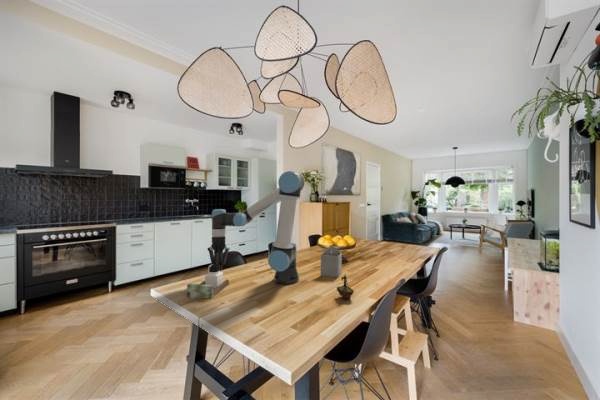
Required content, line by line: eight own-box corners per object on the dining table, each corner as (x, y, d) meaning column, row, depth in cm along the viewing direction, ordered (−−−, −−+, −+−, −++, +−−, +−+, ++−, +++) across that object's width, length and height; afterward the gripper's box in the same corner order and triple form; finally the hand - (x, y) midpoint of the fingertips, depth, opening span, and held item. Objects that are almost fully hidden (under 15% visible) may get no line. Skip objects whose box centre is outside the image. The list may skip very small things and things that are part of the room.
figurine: (357, 301, 116) (357, 276, 116) (342, 303, 114) (342, 278, 114) (347, 293, 126) (347, 270, 126) (333, 295, 123) (333, 271, 123)
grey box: (327, 279, 147) (327, 248, 147) (320, 275, 154) (320, 245, 154) (348, 276, 154) (348, 246, 154) (341, 272, 161) (341, 243, 161)
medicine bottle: (223, 284, 137) (223, 263, 137) (217, 289, 130) (217, 267, 130) (211, 283, 138) (211, 262, 138) (204, 288, 131) (204, 266, 131)
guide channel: (228, 284, 137) (228, 273, 137) (211, 298, 118) (211, 286, 118) (207, 282, 139) (207, 272, 139) (187, 296, 119) (187, 284, 119)
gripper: (232, 235, 141) (231, 274, 141) (211, 234, 143) (211, 273, 143) (226, 237, 134) (226, 279, 134) (204, 236, 136) (204, 277, 136)
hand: (218, 276), depth 139 cm, fingers closed
